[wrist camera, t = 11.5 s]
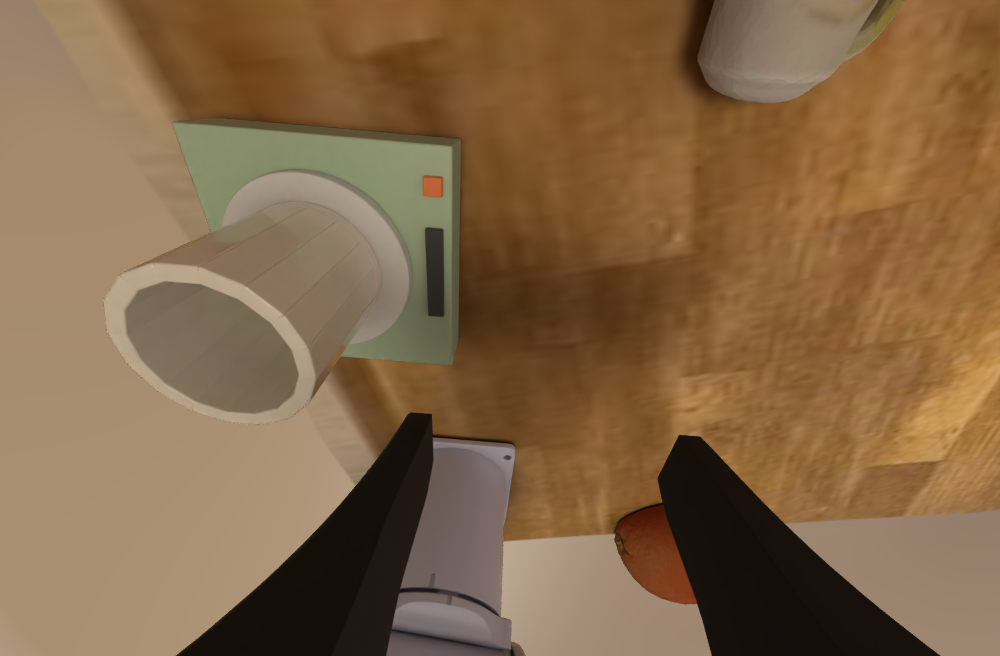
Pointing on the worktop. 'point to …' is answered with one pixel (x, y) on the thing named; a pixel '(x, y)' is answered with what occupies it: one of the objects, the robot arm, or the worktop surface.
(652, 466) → the worktop surface
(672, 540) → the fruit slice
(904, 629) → the robot arm
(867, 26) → the mug
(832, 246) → the worktop surface
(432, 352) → the kitchen scale
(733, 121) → the worktop surface
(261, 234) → the white hollow cylinder
